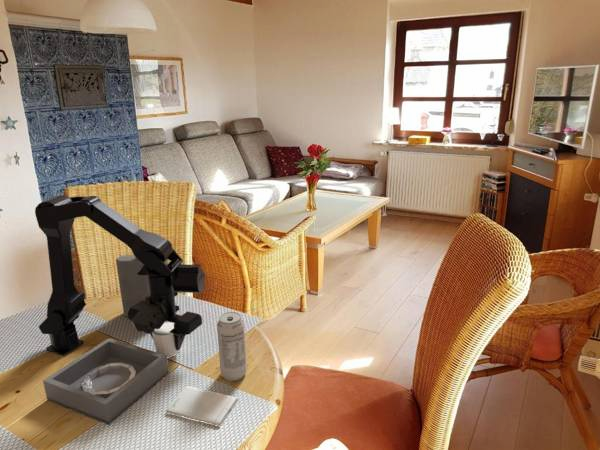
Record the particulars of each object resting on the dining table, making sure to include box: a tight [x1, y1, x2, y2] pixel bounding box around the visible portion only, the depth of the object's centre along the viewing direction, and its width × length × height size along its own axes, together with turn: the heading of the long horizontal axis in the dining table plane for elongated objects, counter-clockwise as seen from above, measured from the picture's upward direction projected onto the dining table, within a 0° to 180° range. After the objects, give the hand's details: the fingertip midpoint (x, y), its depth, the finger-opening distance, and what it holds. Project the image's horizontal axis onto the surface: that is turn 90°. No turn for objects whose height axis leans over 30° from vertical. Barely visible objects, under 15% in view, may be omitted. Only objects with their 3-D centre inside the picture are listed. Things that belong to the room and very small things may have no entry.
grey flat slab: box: [165, 385, 239, 427], centre depth 96 cm, size 2×8×12 cm
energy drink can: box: [216, 311, 248, 382], centre depth 104 cm, size 6×6×15 cm
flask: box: [115, 254, 169, 318], centre depth 131 cm, size 15×6×20 cm, turn 80°
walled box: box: [42, 337, 170, 426], centre depth 102 cm, size 18×18×5 cm
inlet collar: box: [81, 363, 136, 399], centre depth 102 cm, size 11×11×2 cm
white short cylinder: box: [152, 321, 181, 358], centre depth 114 cm, size 7×7×7 cm
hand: (168, 346), depth 115 cm, fingers closed on white short cylinder, 6 cm apart
